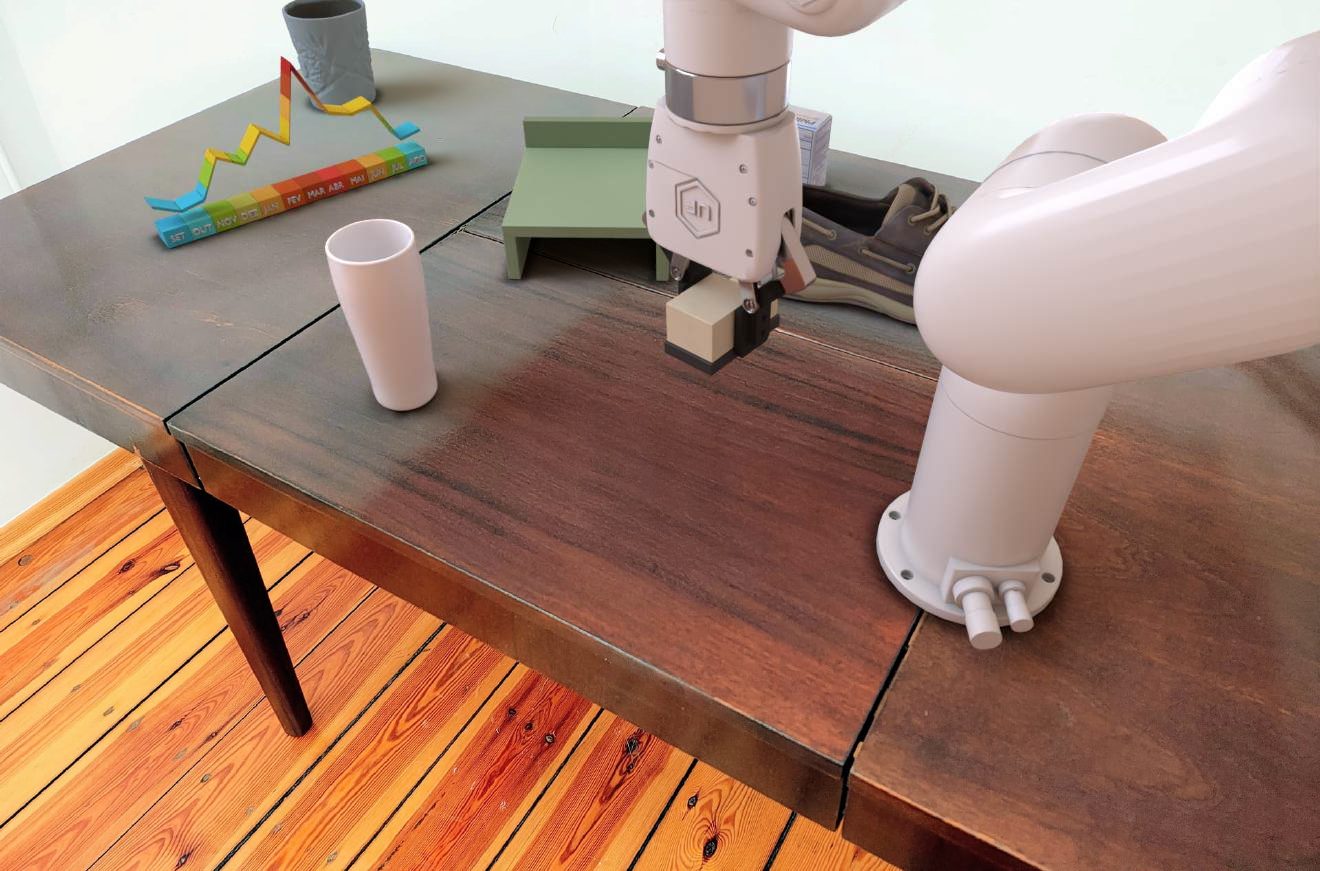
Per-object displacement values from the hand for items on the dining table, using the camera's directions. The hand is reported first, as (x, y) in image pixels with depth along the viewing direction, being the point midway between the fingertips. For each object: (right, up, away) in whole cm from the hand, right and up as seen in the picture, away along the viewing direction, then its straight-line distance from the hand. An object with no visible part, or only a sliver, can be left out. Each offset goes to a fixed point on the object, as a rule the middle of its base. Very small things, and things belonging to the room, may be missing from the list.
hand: (723, 332), depth 68 cm
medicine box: (+10, +21, +39) cm, 46 cm away
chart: (-45, +19, +38) cm, 62 cm away
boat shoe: (+18, +6, +23) cm, 30 cm away
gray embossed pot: (-47, +38, +59) cm, 84 cm away
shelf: (-11, +14, +32) cm, 36 cm away
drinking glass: (-26, -4, +12) cm, 29 cm away
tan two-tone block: (0, 0, 0) cm, 1 cm away
